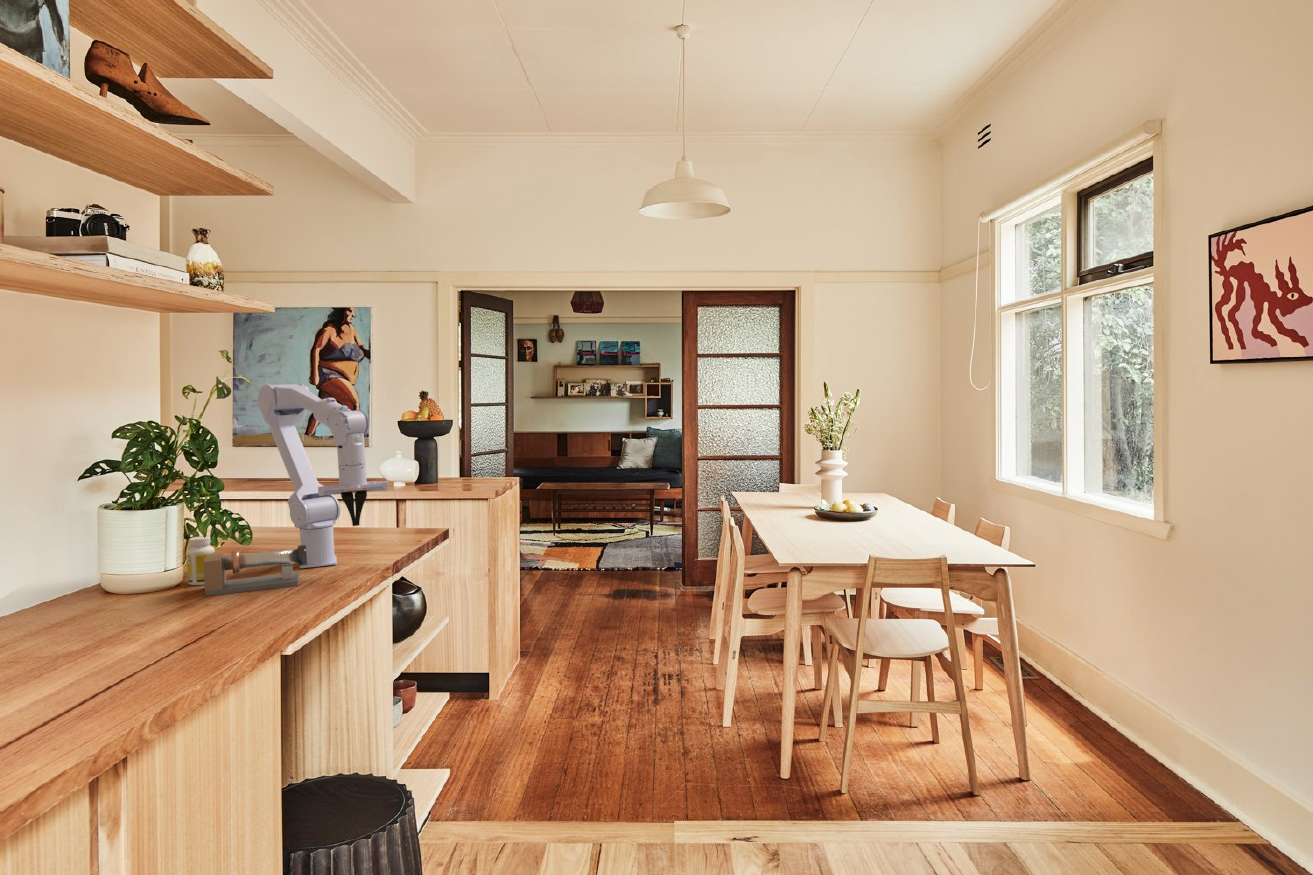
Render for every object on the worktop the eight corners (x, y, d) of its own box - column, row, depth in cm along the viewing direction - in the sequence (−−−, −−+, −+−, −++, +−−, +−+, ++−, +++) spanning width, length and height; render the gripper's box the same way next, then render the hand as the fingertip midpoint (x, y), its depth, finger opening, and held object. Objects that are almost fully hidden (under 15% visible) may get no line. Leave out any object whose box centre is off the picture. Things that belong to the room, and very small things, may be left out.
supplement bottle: (222, 579, 173) (219, 535, 172) (206, 586, 168) (203, 540, 167) (199, 579, 174) (196, 535, 173) (182, 585, 168) (179, 540, 168)
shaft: (226, 572, 167) (224, 549, 166) (307, 564, 173) (306, 541, 172) (223, 577, 162) (222, 553, 162) (307, 568, 168) (305, 545, 168)
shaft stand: (210, 586, 167) (208, 554, 166) (298, 577, 174) (296, 545, 173) (205, 596, 160) (203, 561, 159) (298, 585, 166) (296, 552, 166)
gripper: (316, 468, 170) (320, 531, 171) (387, 463, 175) (391, 524, 176) (316, 466, 176) (320, 526, 177) (385, 461, 182) (388, 519, 183)
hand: (355, 525), depth 177 cm, fingers closed
